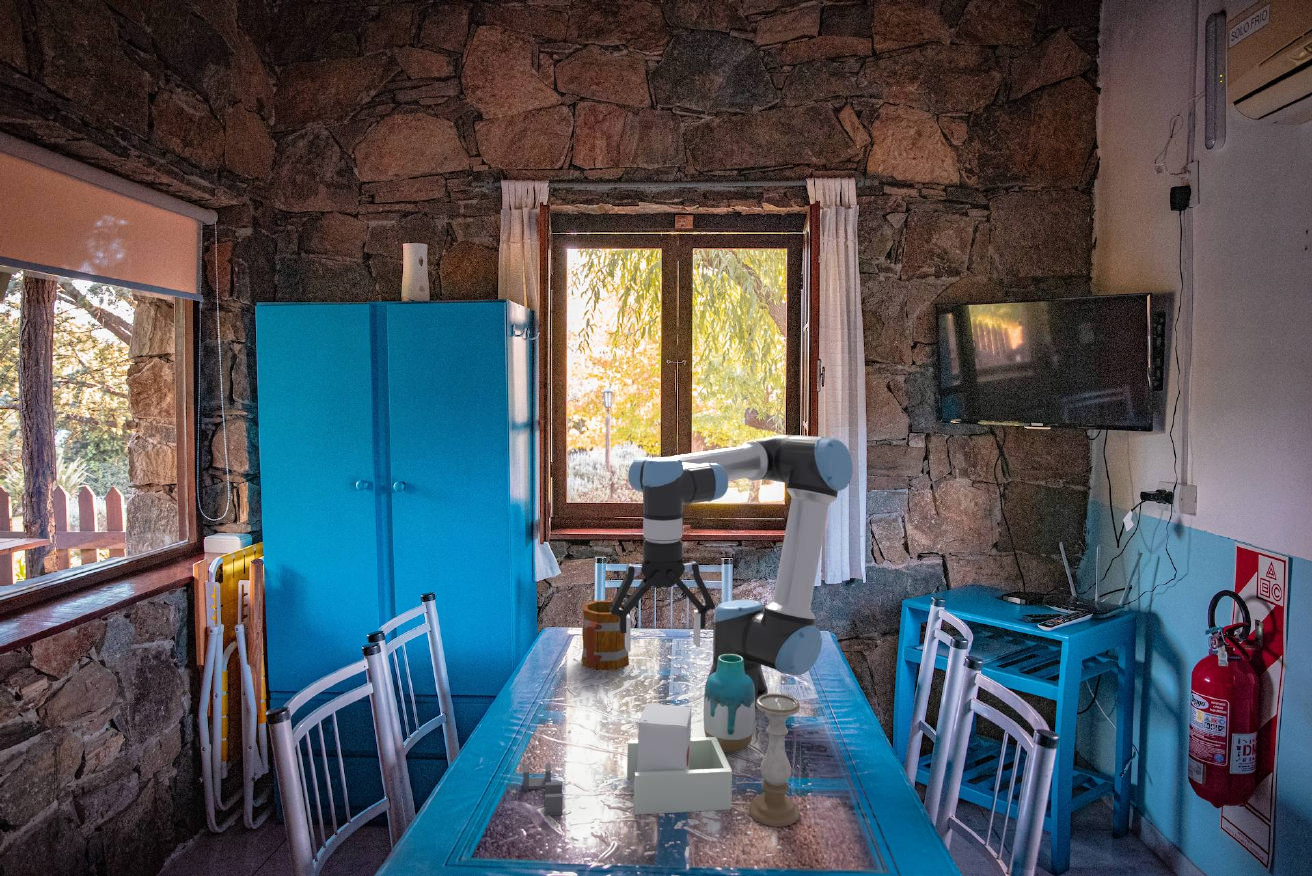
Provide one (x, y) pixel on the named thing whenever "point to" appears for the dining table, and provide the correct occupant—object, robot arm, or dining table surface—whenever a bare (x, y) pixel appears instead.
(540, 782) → the clip
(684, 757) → the supplement box
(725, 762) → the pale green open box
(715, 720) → the vase
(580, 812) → the dining table surface
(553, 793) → the clip
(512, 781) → the dining table surface
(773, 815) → the candle holder
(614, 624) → the mug
